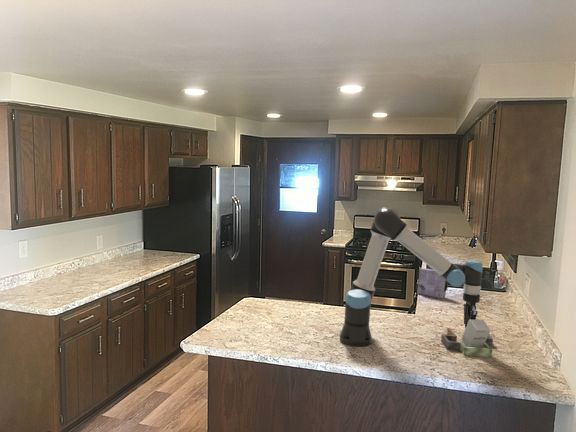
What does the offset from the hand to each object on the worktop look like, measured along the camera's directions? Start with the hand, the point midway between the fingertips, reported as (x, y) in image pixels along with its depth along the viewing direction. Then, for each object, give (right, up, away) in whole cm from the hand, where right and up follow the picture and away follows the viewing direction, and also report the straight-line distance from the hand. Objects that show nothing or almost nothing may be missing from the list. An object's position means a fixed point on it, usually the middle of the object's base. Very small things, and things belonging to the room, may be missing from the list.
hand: (467, 341), depth 231 cm
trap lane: (0, -2, -1) cm, 2 cm away
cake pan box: (+11, +6, +93) cm, 94 cm away
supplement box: (0, -1, -4) cm, 4 cm away
